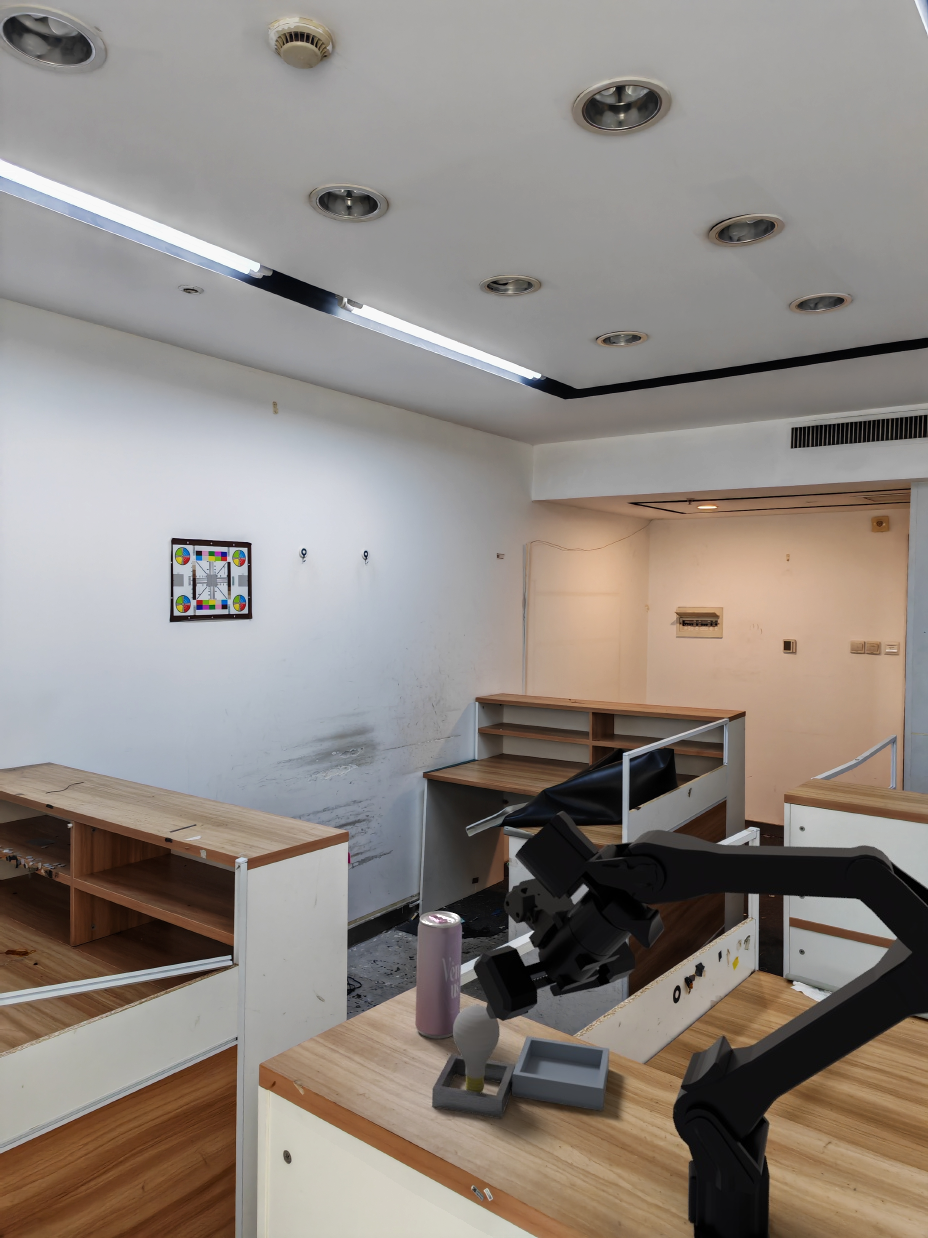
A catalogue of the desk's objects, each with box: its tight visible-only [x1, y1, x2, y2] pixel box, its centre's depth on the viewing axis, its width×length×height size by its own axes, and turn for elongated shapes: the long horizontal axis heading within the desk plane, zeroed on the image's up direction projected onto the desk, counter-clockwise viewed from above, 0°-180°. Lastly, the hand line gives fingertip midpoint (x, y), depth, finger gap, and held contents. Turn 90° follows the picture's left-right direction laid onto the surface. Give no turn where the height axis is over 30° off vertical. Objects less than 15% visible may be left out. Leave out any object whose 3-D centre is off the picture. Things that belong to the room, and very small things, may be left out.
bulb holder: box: [431, 1053, 516, 1119], centre depth 95 cm, size 8×8×2 cm
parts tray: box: [511, 1035, 610, 1112], centre depth 98 cm, size 10×9×2 cm
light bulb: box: [452, 1004, 500, 1093], centre depth 95 cm, size 6×6×10 cm
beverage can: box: [414, 910, 463, 1040], centre depth 110 cm, size 6×6×15 cm
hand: (521, 1002), depth 90 cm, fingers open, 9 cm apart
